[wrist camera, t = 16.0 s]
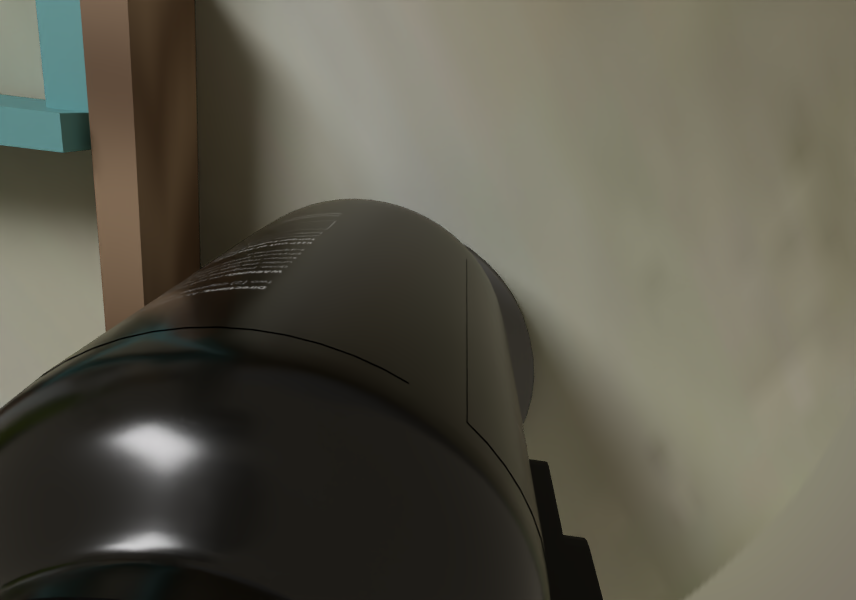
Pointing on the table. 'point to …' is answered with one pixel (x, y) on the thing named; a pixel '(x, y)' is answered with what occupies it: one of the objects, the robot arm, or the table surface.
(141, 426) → the supplement bottle
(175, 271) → the walnut cubby
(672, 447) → the table surface
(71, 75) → the teal drawer
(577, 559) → the robot arm
